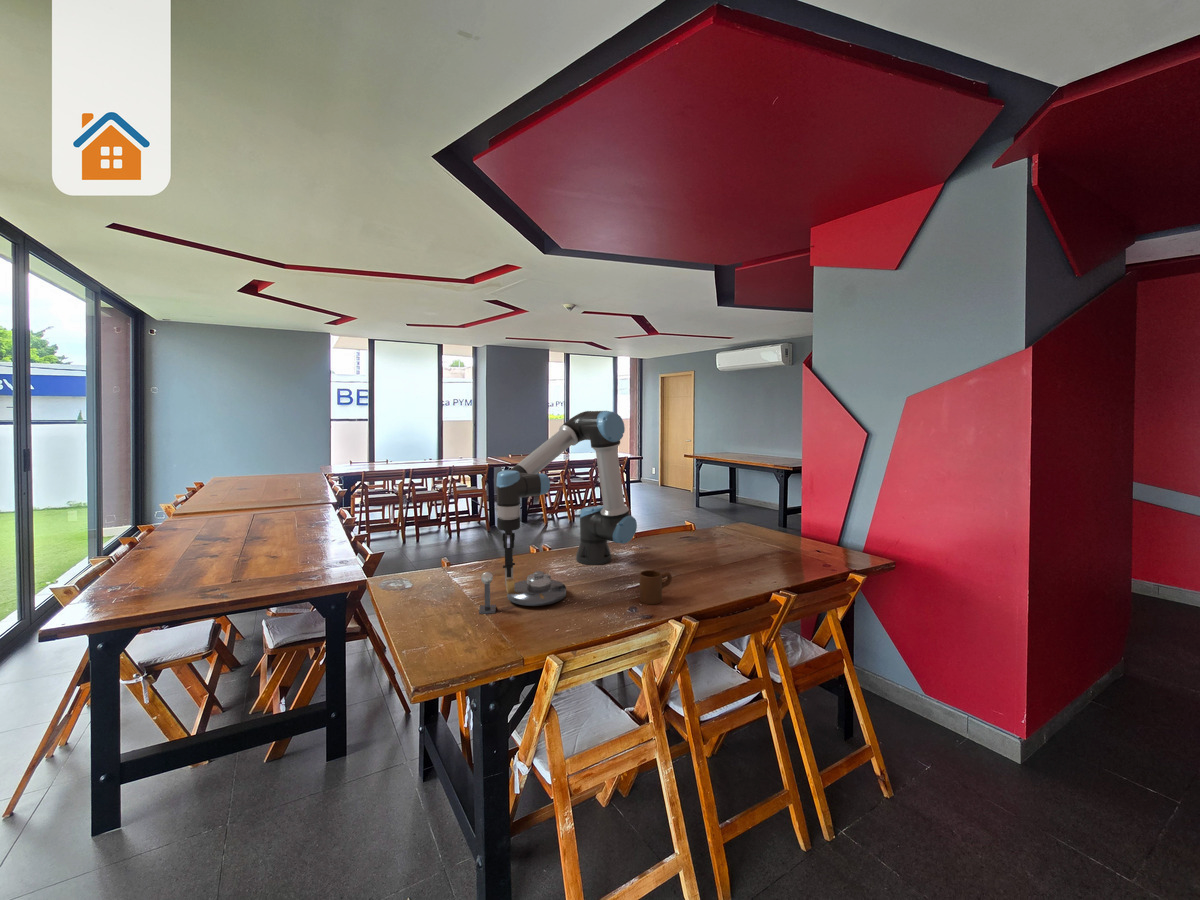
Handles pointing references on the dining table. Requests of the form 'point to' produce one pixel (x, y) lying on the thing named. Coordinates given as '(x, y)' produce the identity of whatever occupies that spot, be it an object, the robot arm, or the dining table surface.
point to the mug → (652, 586)
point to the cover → (538, 582)
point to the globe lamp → (487, 594)
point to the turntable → (534, 593)
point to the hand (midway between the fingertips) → (509, 585)
